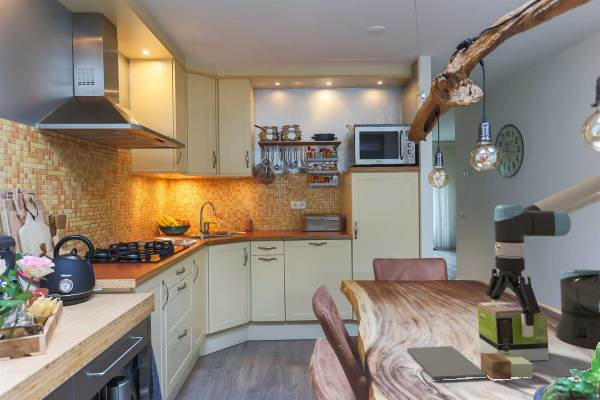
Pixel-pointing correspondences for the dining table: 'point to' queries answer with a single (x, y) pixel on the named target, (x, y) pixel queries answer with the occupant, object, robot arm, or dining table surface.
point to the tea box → (511, 331)
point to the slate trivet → (444, 363)
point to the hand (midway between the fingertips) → (511, 328)
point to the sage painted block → (520, 367)
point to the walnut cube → (496, 366)
